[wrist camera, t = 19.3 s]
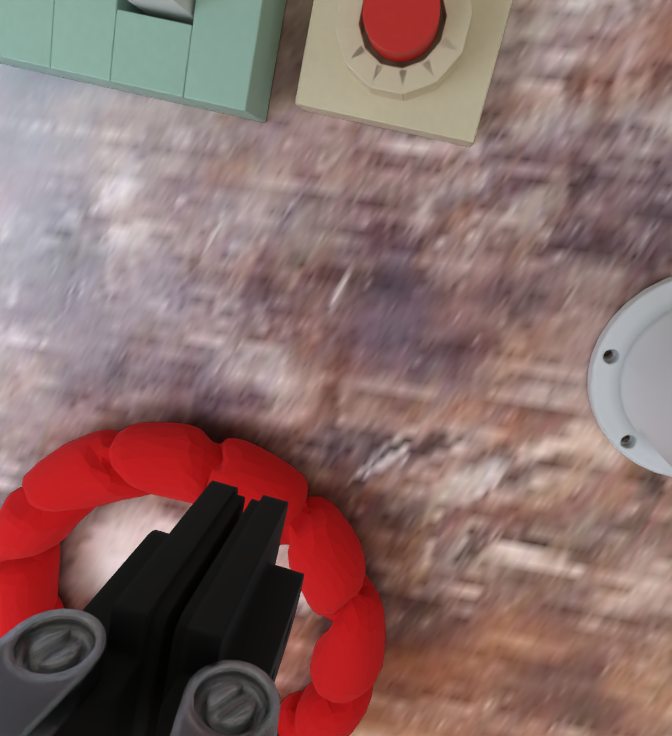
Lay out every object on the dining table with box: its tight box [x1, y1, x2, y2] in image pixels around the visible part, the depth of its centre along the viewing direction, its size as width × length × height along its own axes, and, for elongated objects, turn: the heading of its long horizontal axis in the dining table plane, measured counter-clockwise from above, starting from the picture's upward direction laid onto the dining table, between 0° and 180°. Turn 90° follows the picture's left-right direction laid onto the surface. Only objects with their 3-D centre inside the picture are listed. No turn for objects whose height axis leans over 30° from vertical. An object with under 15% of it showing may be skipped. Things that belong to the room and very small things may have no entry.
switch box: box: [295, 0, 513, 147], centre depth 29 cm, size 10×9×4 cm
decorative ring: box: [0, 422, 386, 736], centre depth 41 cm, size 7×30×30 cm
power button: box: [363, 0, 440, 62], centre depth 27 cm, size 4×4×2 cm
